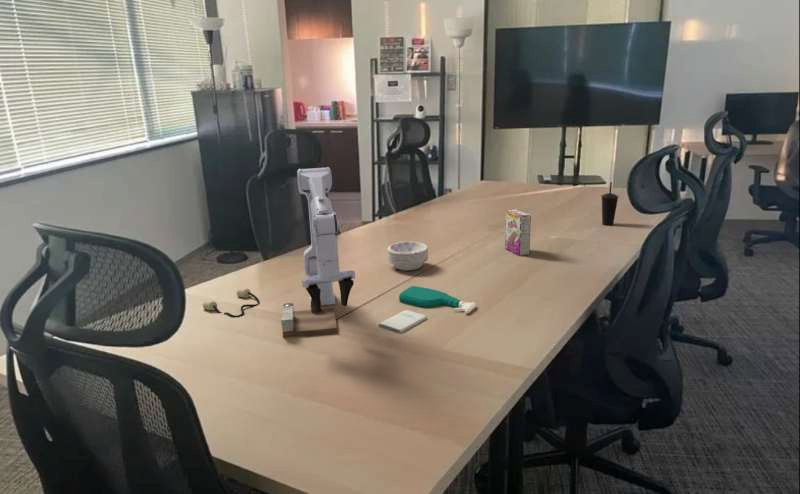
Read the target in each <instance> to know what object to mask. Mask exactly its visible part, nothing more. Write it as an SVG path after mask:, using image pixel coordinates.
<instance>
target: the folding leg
mask: <svg viewBox="0 0 800 494" xmlns="http://www.w3.org/2000/svg"><path fill="white" fill-rule="evenodd" d="M294 306H295V305H294V303H293V302H287V303H283V305H282V311H281V312H282V313H281V329H282V333H283V332H286V331H293V330H294V311H295V308H294Z"/></svg>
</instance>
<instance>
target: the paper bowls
mask: <svg viewBox="0 0 800 494" xmlns="http://www.w3.org/2000/svg"><path fill="white" fill-rule="evenodd" d="M428 260H429V247H428V245H427V244H425V243H422V242H416V241H400V242H396V243H392V244H390V245H389V246H388V247H387V261H388V262H389V263H390V264H392V265H393V266H394V268H396V269H397V270H400V271H414V270H418V269H420V268H421V267H423V264H424V263H426V262H427V261H428Z"/></svg>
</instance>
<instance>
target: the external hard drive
mask: <svg viewBox="0 0 800 494" xmlns="http://www.w3.org/2000/svg"><path fill="white" fill-rule="evenodd" d="M427 318H428V316H427V315H426V314H422V313H417V312H415V311H412V310H409V309H405V310H403V311H400V312H398V313H397V314H395V315H393V316H390V317H388V318H387V319H385V320H383V321H381V322H379V323H378V327H379V328H383V329H386V330H388V331H393V332H395V333H397V334H402V333H404V332H405V331H407V330H409V329H411V328H412V327H415V326H416V325H418V324H420V323H422V322H424V321H425V320H427Z"/></svg>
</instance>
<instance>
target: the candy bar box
mask: <svg viewBox="0 0 800 494" xmlns="http://www.w3.org/2000/svg"><path fill="white" fill-rule="evenodd" d="M531 220H532V215H531V214H529V213H526V212H523V211H521V210H519V209H516V208H515V209H508V210H505V239H504V240H505V241H504V242H505V243H504V245H505V246H504V249H505V250H507V251H509V252H511V253H513V254H515V255H517V256H518V257H519V256H520V257H523V256H527V255H531V253H530V251H531V250H530V249H531V222H532V221H531Z"/></svg>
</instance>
